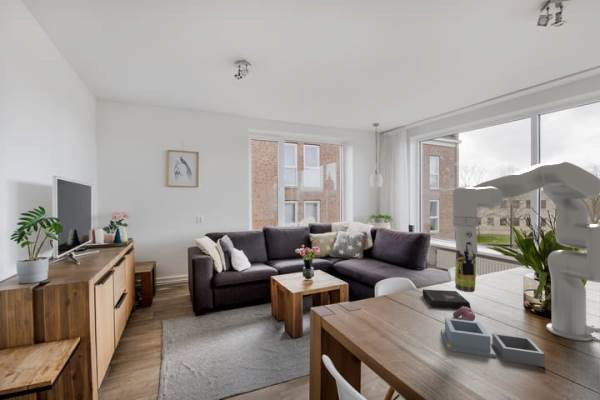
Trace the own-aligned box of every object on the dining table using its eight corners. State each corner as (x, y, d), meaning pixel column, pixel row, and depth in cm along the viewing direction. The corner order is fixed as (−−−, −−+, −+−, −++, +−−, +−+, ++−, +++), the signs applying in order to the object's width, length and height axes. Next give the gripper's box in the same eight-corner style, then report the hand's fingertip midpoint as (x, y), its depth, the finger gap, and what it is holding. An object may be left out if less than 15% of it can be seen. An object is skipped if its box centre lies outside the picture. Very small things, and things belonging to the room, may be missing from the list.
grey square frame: (528, 349, 94) (528, 337, 94) (544, 367, 84) (544, 353, 84) (492, 344, 97) (492, 333, 97) (503, 360, 87) (503, 348, 87)
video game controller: (471, 330, 111) (479, 315, 111) (460, 324, 112) (468, 309, 111) (461, 320, 121) (469, 306, 120) (451, 314, 122) (459, 301, 121)
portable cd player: (470, 311, 128) (470, 302, 128) (431, 308, 131) (431, 300, 131) (457, 298, 144) (457, 291, 144) (422, 296, 147) (422, 289, 147)
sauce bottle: (456, 291, 97) (455, 235, 97) (454, 286, 102) (453, 233, 102) (477, 294, 94) (477, 236, 94) (474, 288, 100) (474, 234, 100)
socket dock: (482, 337, 102) (482, 321, 102) (496, 357, 89) (495, 339, 89) (441, 331, 107) (440, 316, 107) (447, 350, 94) (447, 332, 94)
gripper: (484, 224, 89) (485, 279, 89) (470, 220, 105) (470, 267, 105) (458, 223, 91) (458, 277, 91) (448, 220, 108) (449, 266, 108)
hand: (465, 271), depth 98 cm, fingers closed on sauce bottle, 6 cm apart
